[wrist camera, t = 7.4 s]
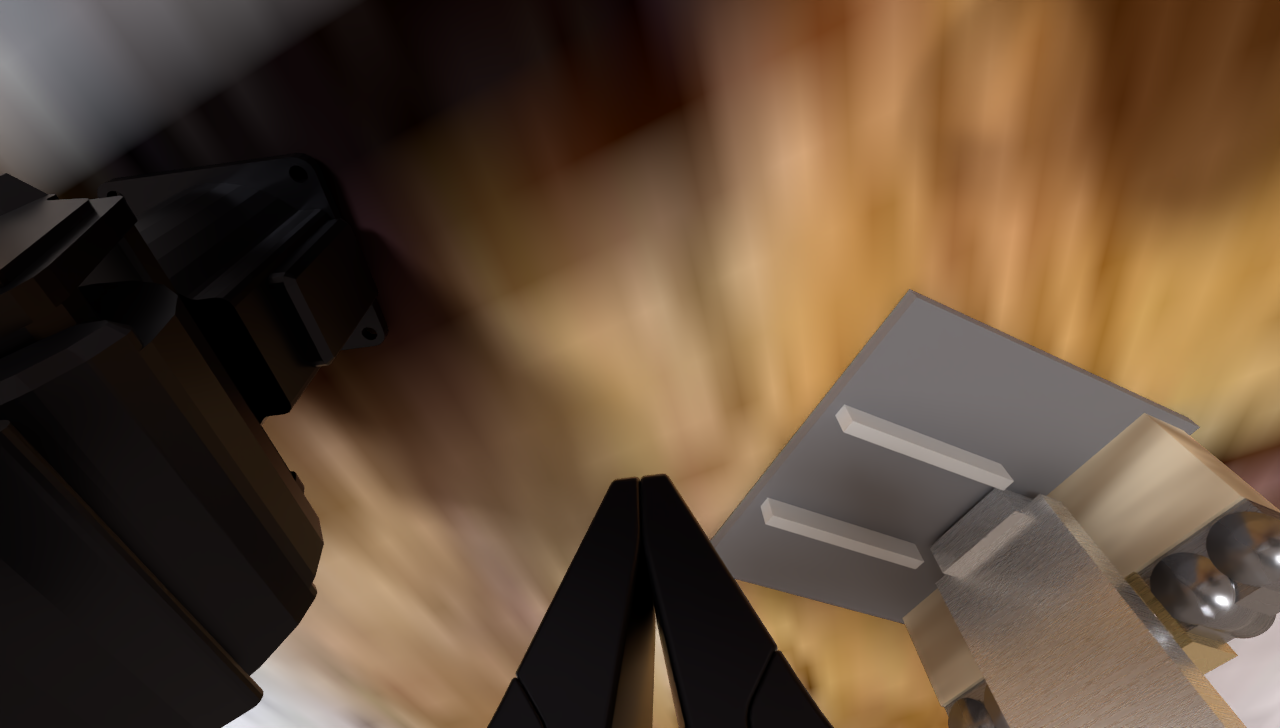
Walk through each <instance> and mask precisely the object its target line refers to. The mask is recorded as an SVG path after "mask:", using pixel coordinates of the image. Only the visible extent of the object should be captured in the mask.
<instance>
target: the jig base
mask: <svg viewBox="0 0 1280 728" xmlns="http://www.w3.org/2000/svg"><path fill="white" fill-rule="evenodd" d="M1143 413H1146V414H1148V415H1150V416H1153V417H1155V418H1157V419H1159V420H1162V421H1164V422H1166V423H1168V424H1170V425H1173V426H1175V427H1177V428H1179V429H1181V430H1184V431H1185V432H1186V433H1187V434H1188V435H1191V434H1192V433H1193V432H1195V431H1196V430H1197V429H1199V428H1200V427H1199V426H1198V425H1197V424H1195V423H1194V422H1193V421H1192V420H1190V419H1189V418H1187V417H1185V416H1183V415H1181V414H1179V413H1177V412H1174V411H1172V410H1170V409H1168V408H1166V407H1164V406H1161V405H1159V404H1157V403H1155V402H1153V401H1151V400H1148V399H1146V398H1144V397H1142V396H1140V395H1138V394H1135V393H1133V392H1131V391H1129V390H1127V389H1125V388H1123V387H1120V386H1118V385H1116V384H1114V383H1112V382H1110V381H1107V380H1105V379H1103V378H1101V377H1099V376H1097V375H1094V374H1092V373H1090V372H1088V371H1086V370H1084V369H1081V368H1079V367H1077V366H1075V365H1073V364H1071V363H1068V362H1066V361H1064V360H1062V359H1060V358H1058V357H1055V356H1053V355H1051V354H1049V353H1047V352H1045V351H1042V350H1040V349H1038V348H1036V347H1034V346H1032V345H1029V344H1027V343H1025V342H1023V341H1021V340H1019V339H1016V338H1014V337H1012V336H1010V335H1008V334H1006V333H1003V332H1001V331H999V330H997V329H995V328H993V327H990V326H988V325H986V324H984V323H982V322H980V321H977V320H975V319H973V318H971V317H969V316H967V315H964V314H962V313H960V312H958V311H956V310H954V309H951V308H949V307H947V306H945V305H943V304H941V303H938V302H936V301H934V300H932V299H930V298H928V297H925V296H923V295H921V294H919V293H917V292H915V291H913V290H910V289H909V291H908V292H907V293H906V294H905V296H904V297H903V298H902V299H901V301H900V302H899V303H898V305H897V306H896V307H895V308H894V310H893V311H892V312H891V313H890V315H889V316H888V317H887V318H886V320H885V321H884V322H883V323H882V325H881V326H880V327H879V329H878V330H877V331H876V332H875V334H874V335H873V336H872V337H871V339H870V340H869V341H868V342H867V344H866V345H865V346H864V347H863V349H862V350H861V351H860V353H859V354H858V355H857V356H856V358H855V359H854V360H853V361H852V363H851V364H850V365H849V366H848V368H847V369H846V370H845V371H844V373H843V374H842V375H841V377H840V378H839V379H838V380H837V382H836V383H835V384H834V385H833V387H832V388H831V389H830V390H829V392H828V393H827V394H826V395H825V397H824V398H823V399H822V401H821V402H820V403H819V404H818V406H817V407H816V408H815V409H814V411H813V412H812V413H811V414H810V416H809V417H808V418H807V419H806V421H805V422H804V423H803V425H802V426H801V427H800V428H799V430H798V431H797V432H796V433H795V435H794V436H793V437H792V438H791V440H790V441H789V442H788V443H787V445H786V446H785V447H784V449H783V450H782V451H781V452H780V454H779V455H778V456H777V457H776V459H775V460H774V461H773V462H772V464H771V465H770V466H769V467H768V469H767V470H766V471H765V473H764V474H763V475H762V476H761V478H760V479H759V480H758V481H757V483H756V484H755V485H754V486H753V488H752V489H751V490H750V491H749V493H748V494H747V495H746V496H745V498H744V499H743V500H742V502H741V503H740V504H739V505H738V507H737V508H736V509H735V510H734V512H733V513H732V514H731V515H730V517H729V518H728V519H727V520H726V522H725V523H724V524H723V526H722V527H721V528H720V529H719V531H718V532H717V533H716V534H715V536H714V537H713V538H712V539H711V541H710V542H711V543H712V545H713V546H714V548H715V550H716V551H717V553H718V554H719V556H720V557H721V559H722V560H723V562H724V564H725V565H726V567H727V568H728V570H729V571H730V573H731V574H732V576H733V578H734V579H738V580H741V581H745V582H749V583H753V584H756V585H760V586H764V587H768V588H771V589H775V590H779V591H783V592H786V593H790V594H794V595H797V596H801V597H805V598H809V599H812V600H816V601H820V602H824V603H827V604H831V605H835V606H839V607H842V608H846V609H850V610H854V611H857V612H861V613H865V614H869V615H872V616H876V617H880V618H884V619H887V620H891V621H895V622H899V623H902V624H905V623H904V621H903V619H902V618H903V617H904V616H905V615H907V614H908V613H909V612H910V611H911V610H912V609H914V608H915V607H916V606H917V605H918V604H919V603H921V602H922V601H923V600H924V599H925V598H927V597H928V596H929V595H930V594H931V593H932V592H934V591H935V590H936V589H937V588H938V587H937V585H936V584H935V583H936V582H937V581H939V580H940V579H941V578H942V577H943V576H944V575H946V574H944V573H943V572H942V570H941V569H940V567H939V565H938V563H937V561H936V559H935V557H934V556H933V554H932V552H931V550H930V548H929V547H930V546H932V545H933V544H934V543H935V542H936V541H937V540H938V539H939V538H940V537H941V536H943V535H944V534H945V533H946V532H947V531H948V530H949V529H950V528H951V527H952V526H954V525H955V524H956V523H957V522H958V521H959V520H960V519H961V518H962V517H963V516H965V515H966V514H967V513H968V512H969V511H970V510H971V509H972V508H973V507H975V506H976V505H977V504H978V503H979V502H980V501H981V500H982V499H983V498H984V497H986V496H987V495H988V494H989V493H990V492H991V491H992V490H993V489H994V488H997V489H1000V490H1003V491H1004V490H1005V489H1007V490H1010V491H1012V492H1015V493H1018V494H1021V495H1023V496H1026V497H1029V498H1031V499H1034V498H1035V497H1037V496H1038V495H1039V494H1042V495H1045V496H1047V495H1048V494H1049V493H1050V492H1052V491H1053V490H1054V489H1055V488H1056V487H1057V486H1059V485H1060V484H1061V483H1062V482H1063V481H1064V480H1066V479H1067V478H1068V477H1069V476H1070V475H1072V474H1073V473H1074V472H1075V471H1076V470H1077V469H1079V468H1080V467H1081V466H1082V465H1083V464H1085V463H1086V462H1087V461H1088V460H1089V459H1090V458H1092V457H1093V456H1094V455H1095V454H1096V453H1098V452H1099V451H1100V450H1101V449H1102V448H1103V447H1105V446H1106V445H1107V444H1108V443H1109V442H1110V441H1112V440H1113V439H1114V438H1115V437H1116V436H1118V435H1119V434H1120V433H1121V432H1122V431H1123V430H1125V429H1126V428H1127V427H1128V426H1129V425H1131V424H1132V423H1133V422H1134V421H1135V420H1136V419H1138V418H1139V417H1140V416H1141V415H1142V414H1143Z"/></svg>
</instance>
